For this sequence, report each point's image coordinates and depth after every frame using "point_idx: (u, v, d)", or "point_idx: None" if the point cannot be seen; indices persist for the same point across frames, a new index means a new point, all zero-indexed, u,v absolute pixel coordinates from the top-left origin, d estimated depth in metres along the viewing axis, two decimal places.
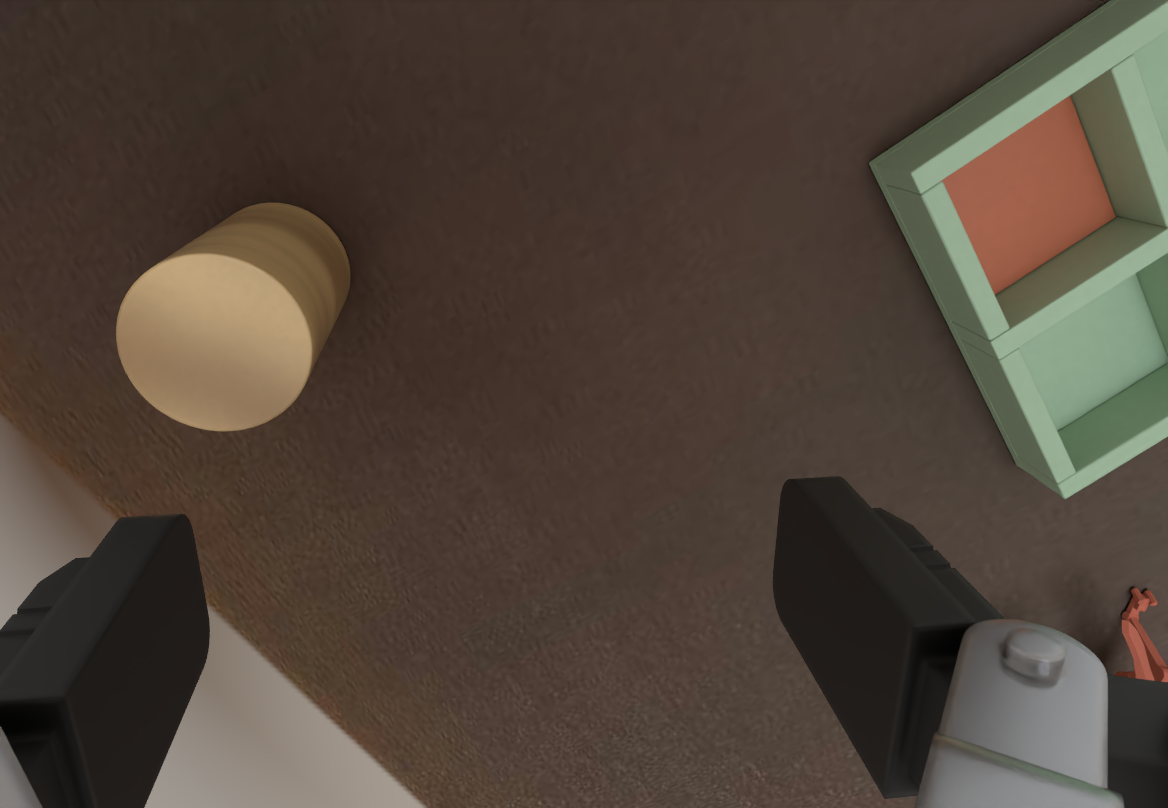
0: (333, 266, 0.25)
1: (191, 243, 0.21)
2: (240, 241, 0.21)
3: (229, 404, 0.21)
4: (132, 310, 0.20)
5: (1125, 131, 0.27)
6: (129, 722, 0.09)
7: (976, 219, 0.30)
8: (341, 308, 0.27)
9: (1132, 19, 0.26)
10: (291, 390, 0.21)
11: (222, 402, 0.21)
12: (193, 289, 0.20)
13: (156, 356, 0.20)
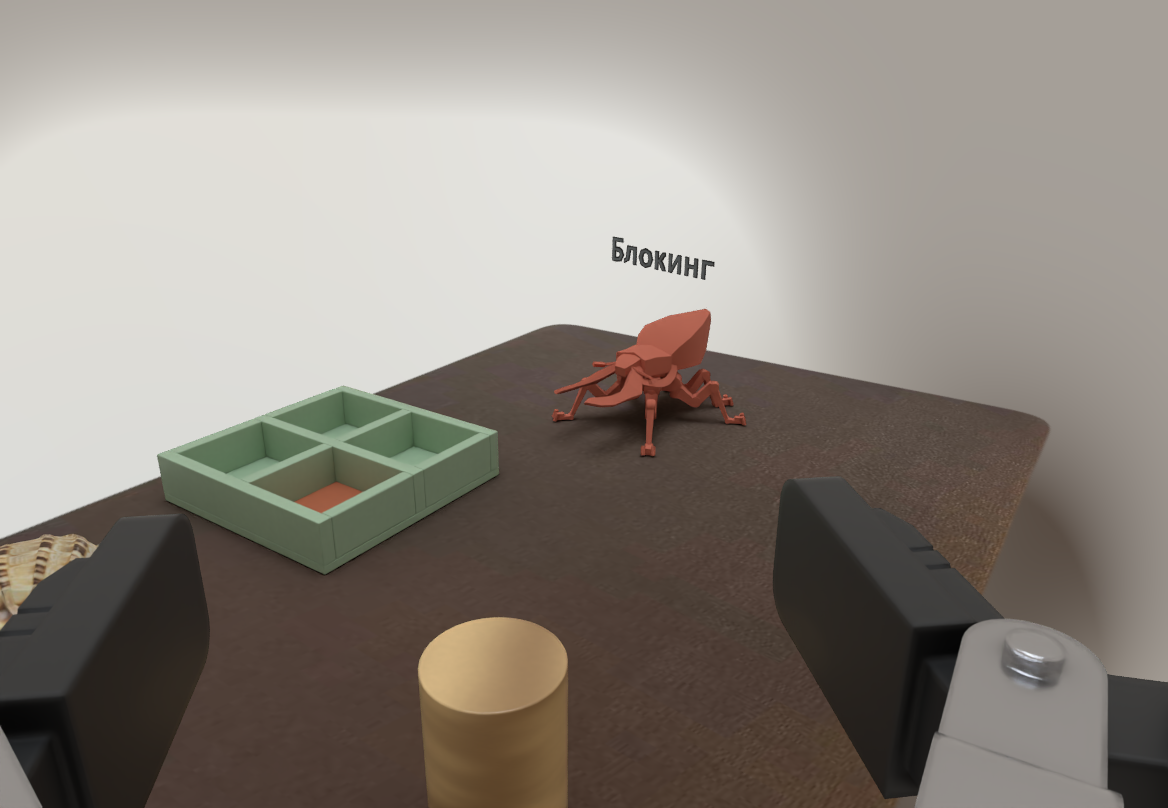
0: None
1: (435, 753, 0.25)
2: None
3: (539, 647, 0.26)
4: (479, 706, 0.24)
5: (283, 473, 0.49)
6: (129, 721, 0.09)
7: None
8: None
9: (222, 487, 0.47)
10: (514, 622, 0.27)
11: (539, 650, 0.26)
12: (450, 678, 0.25)
13: (514, 688, 0.24)
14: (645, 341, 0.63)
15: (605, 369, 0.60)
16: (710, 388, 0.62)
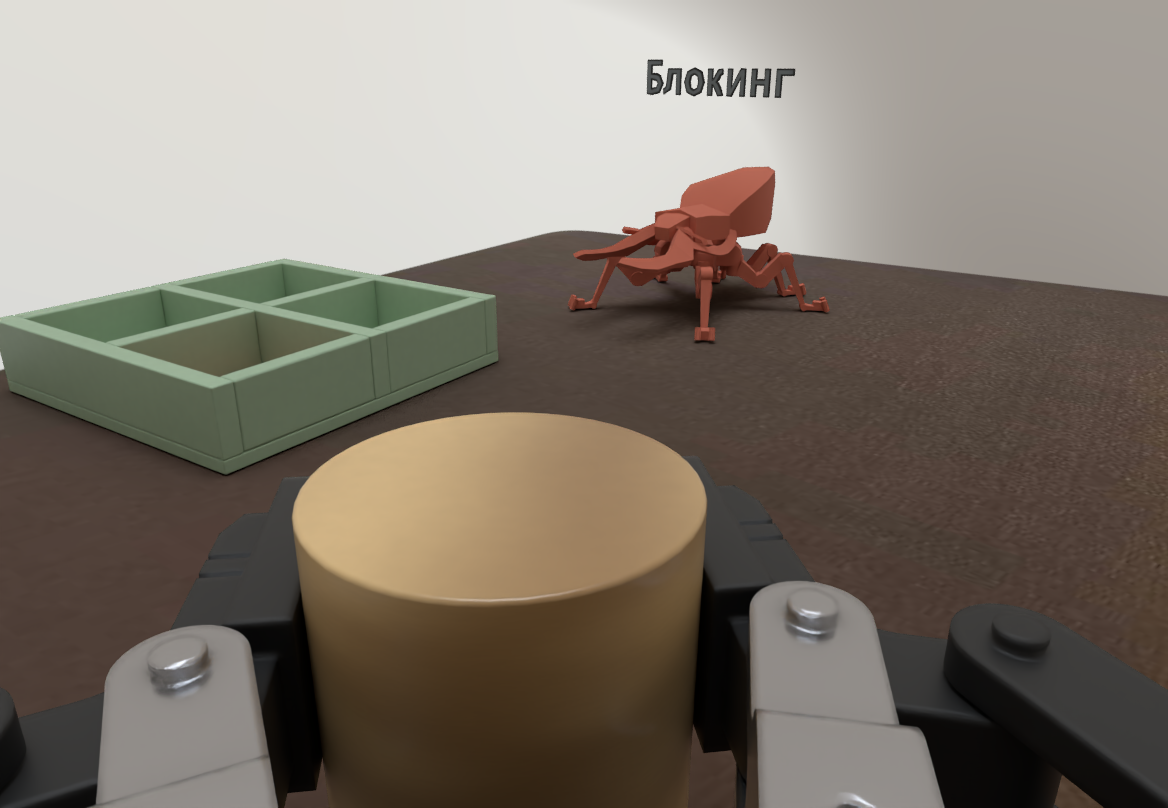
0: None
1: (338, 736, 0.09)
2: None
3: (621, 459, 0.10)
4: (463, 582, 0.08)
5: (175, 340, 0.32)
6: None
7: None
8: None
9: (76, 355, 0.31)
10: (552, 420, 0.11)
11: (622, 465, 0.10)
12: (381, 520, 0.09)
13: (567, 539, 0.08)
14: (692, 201, 0.47)
15: (641, 232, 0.44)
16: (781, 261, 0.46)
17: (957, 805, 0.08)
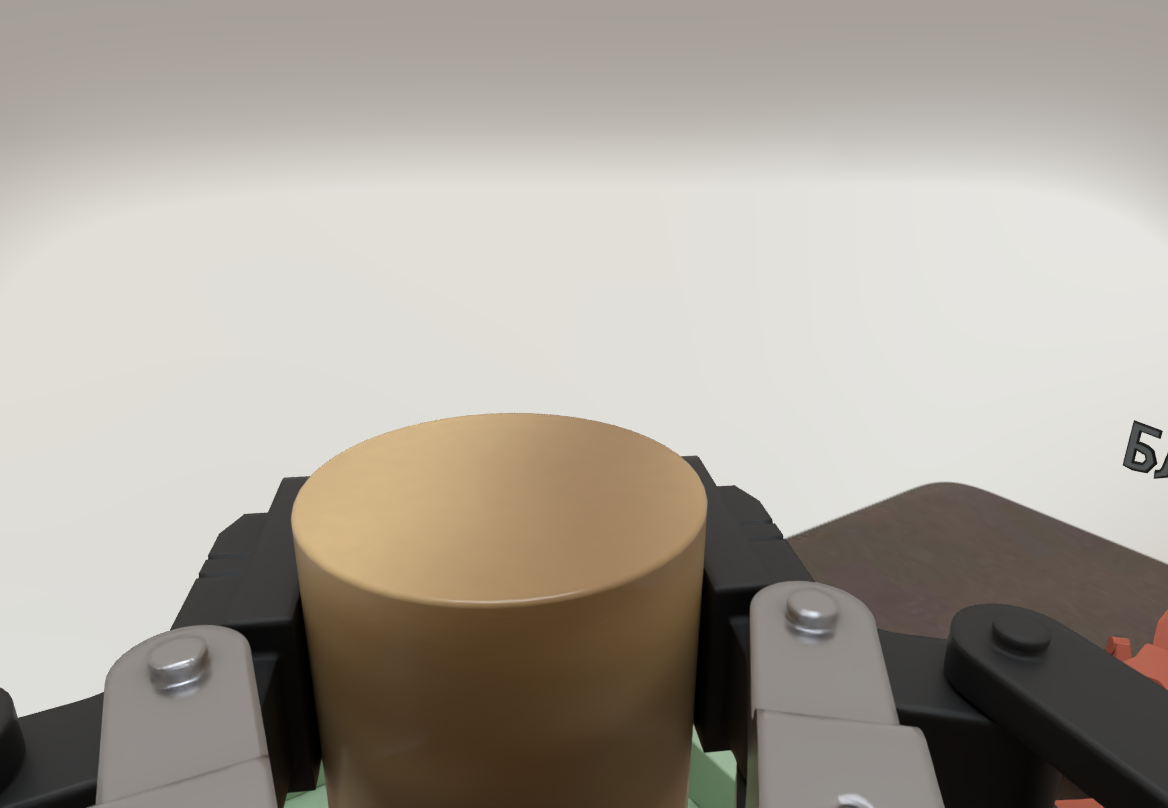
0: None
1: (338, 737, 0.09)
2: None
3: (621, 460, 0.10)
4: (463, 584, 0.08)
5: None
6: None
7: None
8: None
9: None
10: (552, 420, 0.11)
11: (622, 466, 0.10)
12: (381, 521, 0.09)
13: (567, 541, 0.08)
14: None
15: None
16: None
17: (957, 805, 0.08)
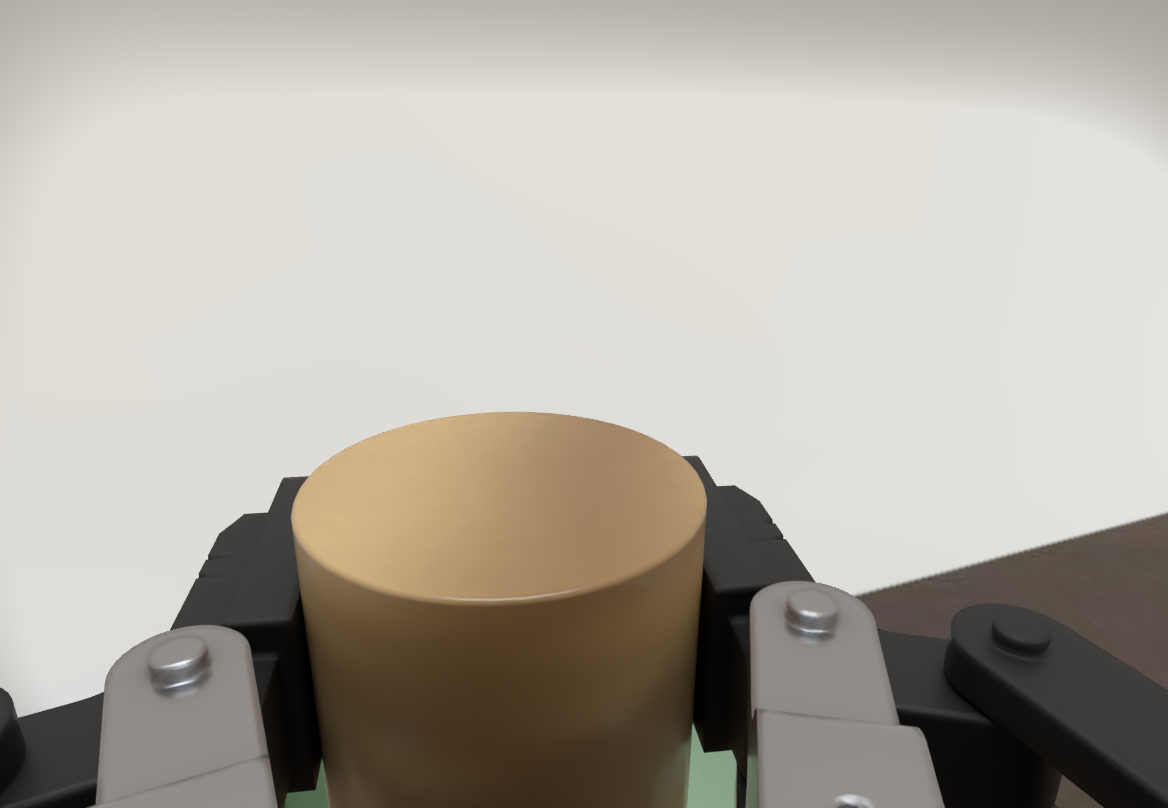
0: None
1: (338, 735, 0.09)
2: None
3: (621, 458, 0.10)
4: (463, 581, 0.08)
5: None
6: None
7: None
8: None
9: None
10: (551, 419, 0.11)
11: (622, 464, 0.10)
12: (380, 519, 0.09)
13: (566, 539, 0.08)
14: None
15: None
16: None
17: (958, 805, 0.08)
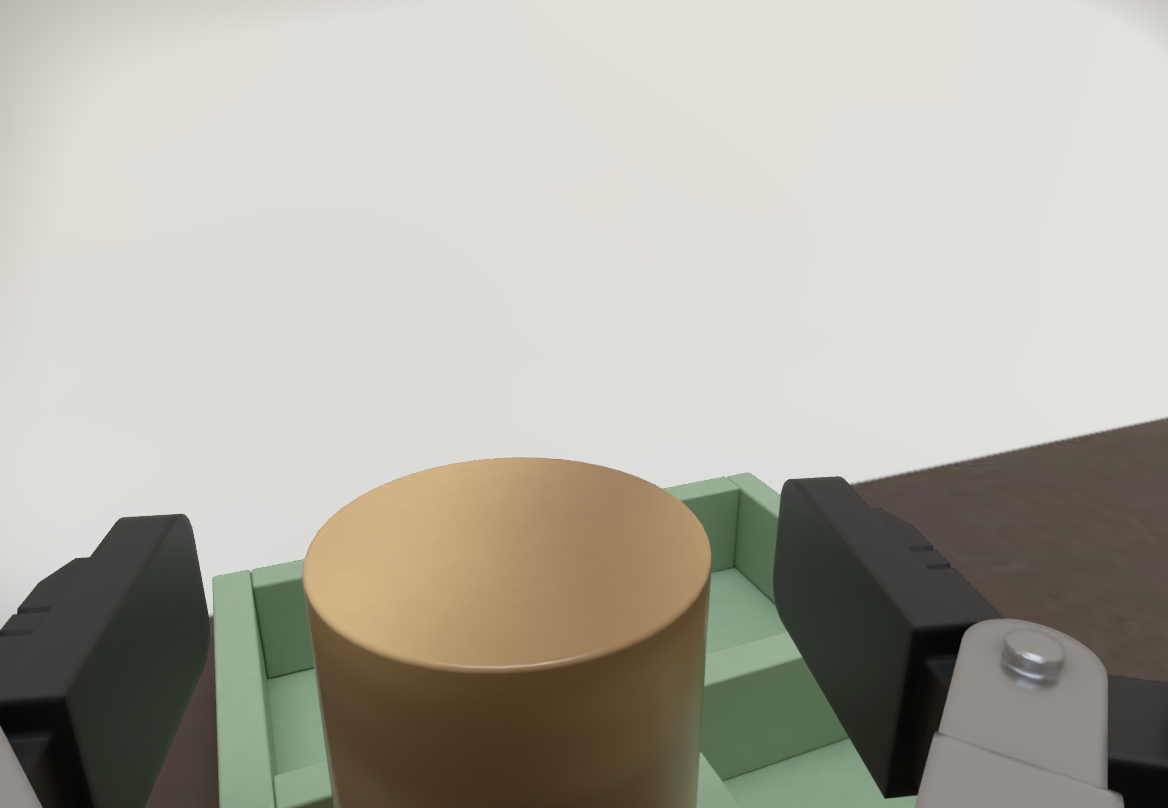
0: None
1: (349, 791, 0.09)
2: None
3: (627, 510, 0.10)
4: (472, 648, 0.08)
5: None
6: (128, 723, 0.09)
7: None
8: None
9: None
10: (558, 465, 0.11)
11: (628, 516, 0.10)
12: (391, 579, 0.09)
13: (574, 600, 0.08)
14: None
15: None
16: None
17: None
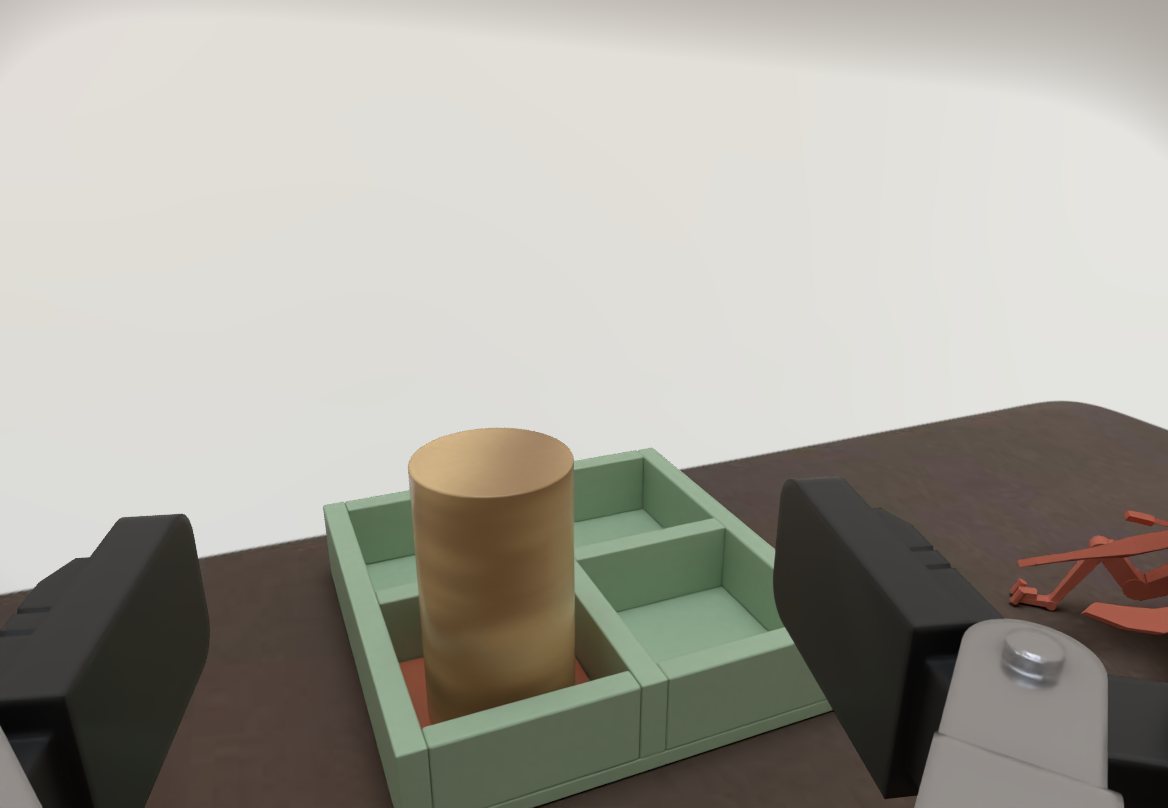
0: None
1: (427, 555, 0.22)
2: None
3: (542, 448, 0.24)
4: (476, 491, 0.21)
5: None
6: (129, 722, 0.09)
7: None
8: None
9: (347, 597, 0.28)
10: (514, 431, 0.25)
11: (541, 450, 0.24)
12: (443, 472, 0.22)
13: (514, 477, 0.22)
14: None
15: (1154, 536, 0.28)
16: None
17: None
